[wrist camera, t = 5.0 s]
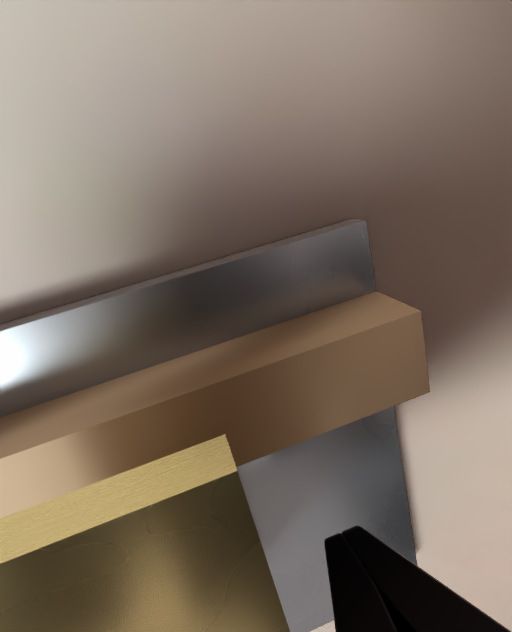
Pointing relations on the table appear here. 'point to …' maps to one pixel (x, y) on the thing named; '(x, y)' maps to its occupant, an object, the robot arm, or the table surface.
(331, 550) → the robot arm
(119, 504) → the sliding head
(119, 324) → the flange plate
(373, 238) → the table surface
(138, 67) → the table surface
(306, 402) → the divider beam
